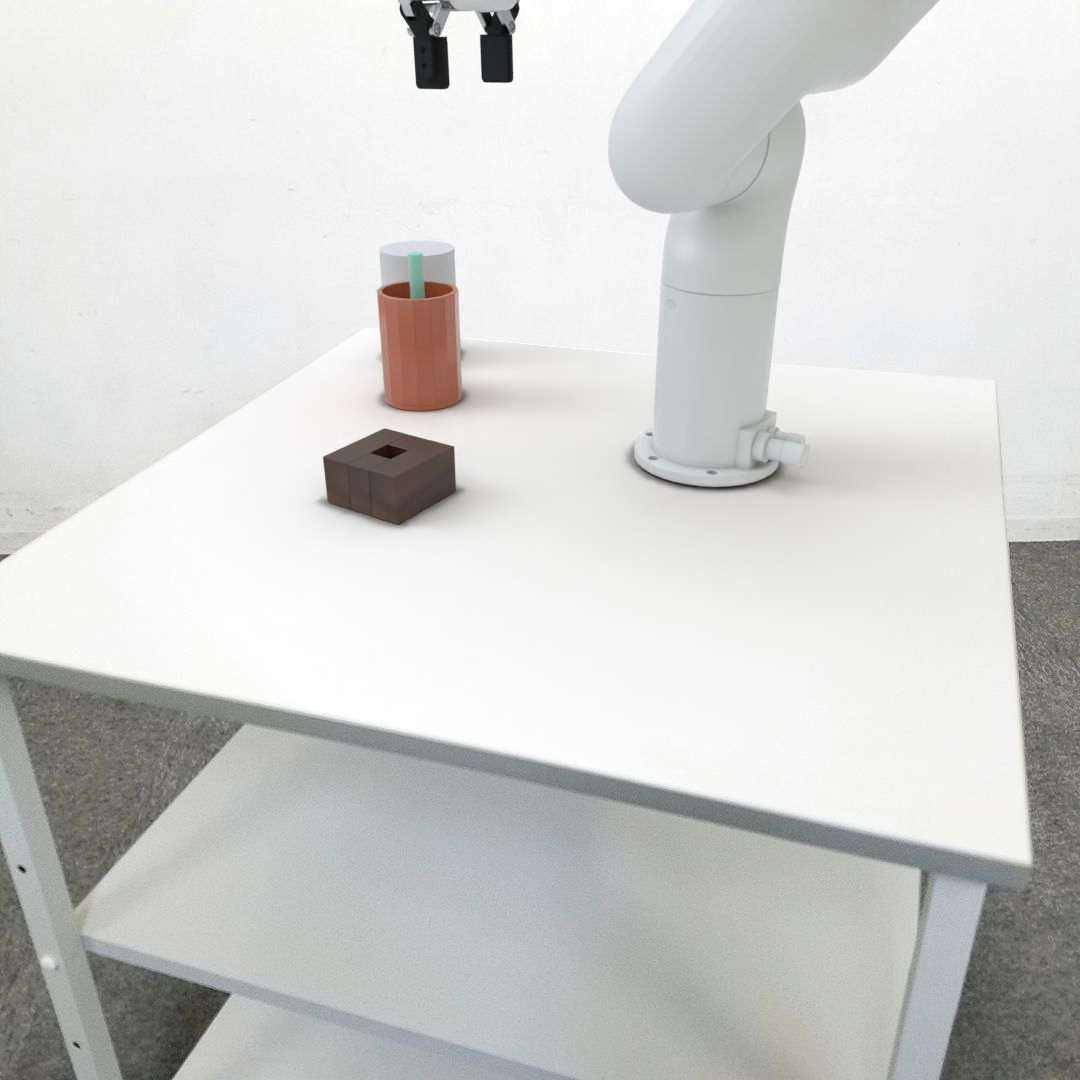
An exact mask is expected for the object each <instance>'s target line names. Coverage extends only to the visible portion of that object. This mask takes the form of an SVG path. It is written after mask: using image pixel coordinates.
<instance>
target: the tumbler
mask: <svg viewBox="0 0 1080 1080" xmlns="http://www.w3.org/2000/svg"><path fill="white" fill-rule="evenodd" d="M424 288H425V298H423V299H411V297H410V281H402V282H395V283H390V284H387V285H384V286H382V285H381V286H380V287H379V288H377V289H376V304H377V316H378V318H377V319H378V330H379V331H378V332H379V343H380V345H379V346H380V357H381V358H380V359H381V373H382V381H383V382H382V384H383V394H384V401H385V403H387V405H389V406H390V407H393V408H396V409H399V410H404V411H411V412H413V411H415V412H427V411H434V410H436V411H437V410H440V409H442V410H443V409H445V408H449V407H451V406H455V404H458V403H459V402H460V401H461V400H462V396H463V394H462V393H463V379H462V378H463V376H462V352H461V351H462V350H461V349H462V348H461V326H460V324H461V323H460V322H461V321H460V297H459V288H458V286H457V285H456V286H455V285H452V284H450V283H446V282H440V281H430V280H424Z"/></svg>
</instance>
